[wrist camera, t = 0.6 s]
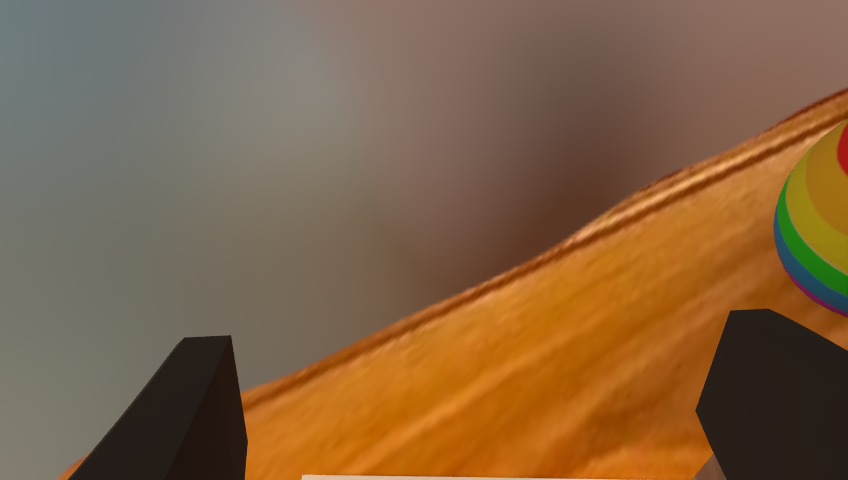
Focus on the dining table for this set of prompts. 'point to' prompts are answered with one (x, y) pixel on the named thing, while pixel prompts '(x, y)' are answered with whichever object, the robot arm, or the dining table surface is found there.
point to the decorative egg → (817, 222)
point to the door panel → (417, 478)
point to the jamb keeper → (710, 471)
